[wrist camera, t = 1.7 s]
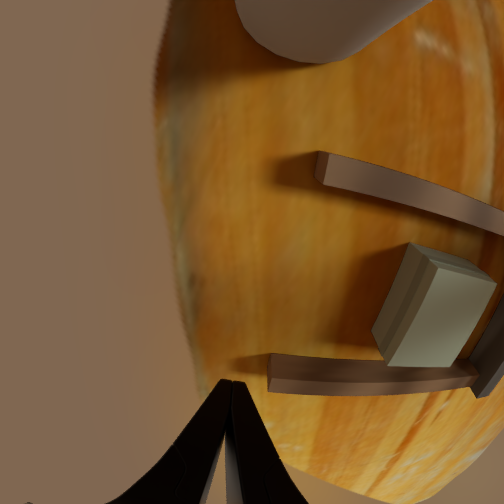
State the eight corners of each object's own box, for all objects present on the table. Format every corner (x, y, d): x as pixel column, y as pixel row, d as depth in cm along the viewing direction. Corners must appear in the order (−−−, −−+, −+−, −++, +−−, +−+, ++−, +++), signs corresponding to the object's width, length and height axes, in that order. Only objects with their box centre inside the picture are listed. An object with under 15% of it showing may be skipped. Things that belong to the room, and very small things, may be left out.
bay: (539, 226, 16) (568, 243, 12) (471, 370, 22) (488, 395, 18) (319, 146, 15) (338, 150, 11) (266, 369, 21) (267, 410, 17)
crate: (467, 258, 17) (498, 283, 14) (429, 335, 20) (449, 367, 16) (407, 240, 17) (438, 266, 13) (369, 329, 20) (386, 366, 16)
